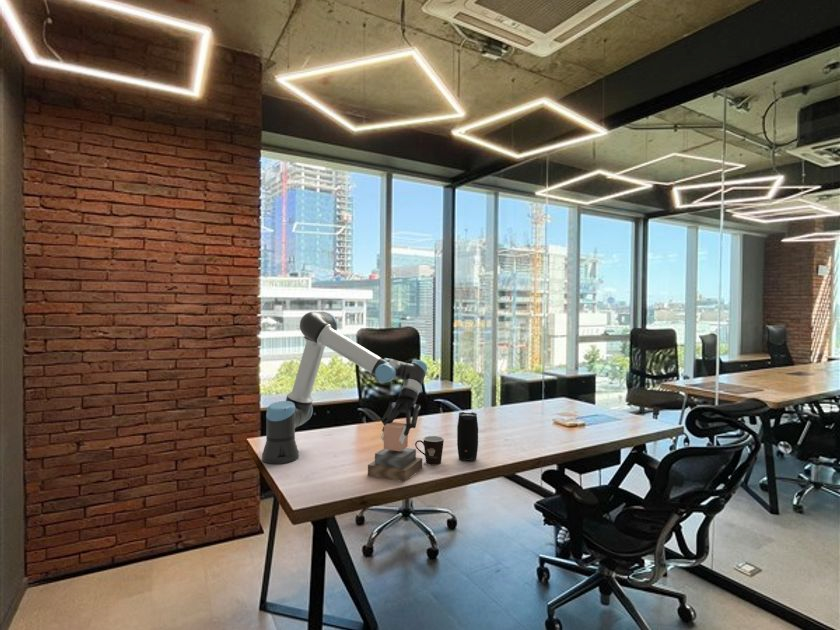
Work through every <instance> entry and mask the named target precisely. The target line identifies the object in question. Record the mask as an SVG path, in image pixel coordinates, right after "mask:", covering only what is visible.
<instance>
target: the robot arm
mask: <svg viewBox="0 0 840 630" xmlns="http://www.w3.org/2000/svg"><path fill="white" fill-rule="evenodd" d="M338 328H339V327H338V321H337V318H336V317H335V316H334V315H333V314H332V313H330V312H327V311H309V312H307V313H305V314H304V315H302V317H301V318H300V322H299V330H300V332H301V334H302V335H303V338H304V340H305V346H304V348H303V352H302V355H301V359H300V363H299V366H298V369H297V372H296V377H295V380H294V384H293V387H292V390H291V392H289V393H287V395H286V398H285V400H281V401H278V402H273V403H270V404H269V405H268V406H267V408H266V415H265V417H266V420H265V421H266V423H265V424H266V427H265V428H266V429H265V430H266V432H265V433H266V440H265V445H264V448H263V451H262V455H261V461H262V462H263V463H265V464H269V465H271V464H272V465H279V464H287V462H288V463H292V462H295V461H297V460H298V459H299V457H300V453H299V452H300V450H299V449H298V445H297V442H296V437H295V436H296V428H298V427H300V426H302V425H304V424H306V423H307V422H308V421H309V420H310V419H311V417H312V415H313V412H314V410H313V409H314V407H313V406H312V404H313V398H312V396H311V395H312V393H313V388H314V385H315V382H316V378H317V375H318V371H319V368H320V365H321V361H322V358H323V354H324V351H325V348H326V347H327V348H328V349H331V350H332V351H334V352H335V353H337V354H338V355H340V356H342V357H344V358H346V359H347V360H349V361H350V362H351V363H353V364H355V365H356V366H358V367H360V368H362V369H363V370H365V371H366V372H368V373H370V374H371V375H374V376H375V378H376V379H377V381H379V382H380V383H383V384H384V383H389V382H392V381H393V380H395V379H398V380H403V381H404V382H403V385H402V386H401V390H400V392H399V394H398V398H397V400H396V401H395V402H393V401H389V403H388V407H387V409H386V410H385V413H384V414H383V416H382V419H381V420H380V421H381V423H382V424H383V426H382V430H381V431H382V435H381V437H380V438H381V441H382V442H383V443H384V426H385V425H387V424H389V423H391V422H394V421H395V419H396V418H397V417H398V416H399V415H401V414H402V413H404V414H405V424H406V426H404V427H403V430H402V433H401V436H400V438H399V441H400V443H401V444H403V442H404V439H405V436H407V435H408V436H409V433H410V430H411V429H416V427H417V422H418V417H419V413H420V411H421V409H422V408H421V405H420V404H419V403H417V400H418V398H419V393H420V391H421V389H422V386H423V383H424V380H425V378H426V374H427V370H428V366H427V364H426V363H425V362H424V361H422V360H421V359H414V360H412V362H411V363H408V362H404V361H401V360H400V361H399V360H396V359H393V358H387V357H384V358H382V357H380V356H379V355H378V354H376V353H374V352H372V351H370V350H369V349H367V348H366V347H364V346H362V345H361V344H359V343H358V342H355V341H353V340H352V339H350V338H349V337H347V336H346V335H344V334H341V332H339V331H337V330H338ZM416 403H417V404H416ZM412 410H413V413H411V412H412ZM411 414H412V418H411ZM296 459H297V460H296ZM294 460H295V461H294ZM291 461H292V462H291Z"/></svg>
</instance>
